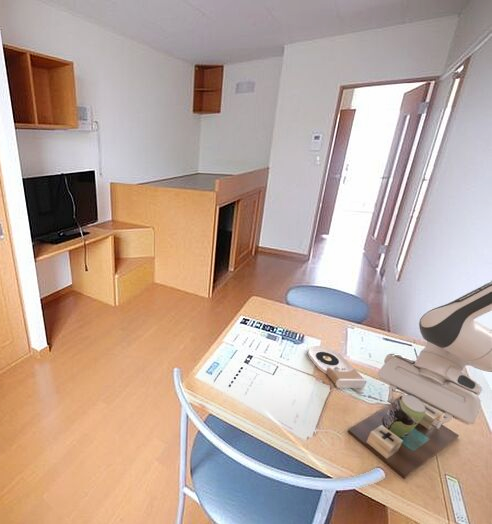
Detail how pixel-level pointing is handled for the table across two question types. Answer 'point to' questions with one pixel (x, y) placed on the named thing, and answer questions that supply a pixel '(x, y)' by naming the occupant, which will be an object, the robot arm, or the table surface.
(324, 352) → the record player
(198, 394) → the table surface
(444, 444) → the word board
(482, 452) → the table surface
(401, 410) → the beverage can
